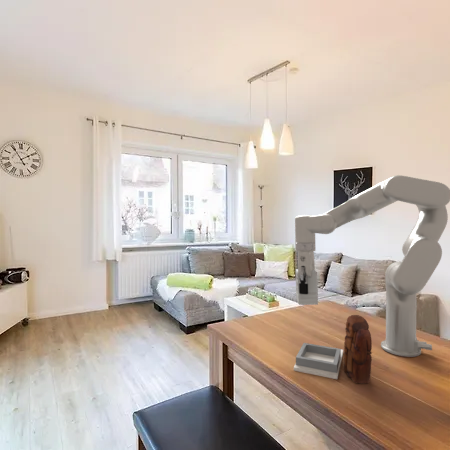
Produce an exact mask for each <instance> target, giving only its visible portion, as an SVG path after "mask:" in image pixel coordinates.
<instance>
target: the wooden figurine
mask: <svg viewBox="0 0 450 450" xmlns="http://www.w3.org/2000/svg"><path fill="white" fill-rule="evenodd" d="M344 329H345V336H344V344H343V348H344V349H343V372H344V373H346V375H347V377H348V378H349V379H352V381H353V382H354V383H355V384H369V383H370V381H371V372H372V371H371V370H372V360H373V357H372V353H373V352H372V348H373V347H372V345H373V344H372V334H371V332H370V331H371V330H369V329H370V326H369V323H368V321H367V320H366V318H365V317H363V316H361V315H359V314H351V315H349V316H348V317H347V319H346V323H345V328H344Z"/></svg>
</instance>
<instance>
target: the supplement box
mask: <svg viewBox="0 0 450 450" xmlns="http://www.w3.org/2000/svg"><path fill="white" fill-rule="evenodd" d="M304 275H306V272H304ZM299 278H300V277H299V275H298V268H295V292H296V293H295V295H296V298H295V299H296V301H297V304H298V305H300V306H308V305H311V306H312V305H315V306H316V305H319V295H318V272H317V271H316V269H315V270H313V271H312V277H311V278H310V277H309V276H308V280H307V283H308V294H300V293H299ZM305 279H306V278H305Z"/></svg>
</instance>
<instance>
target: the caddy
mask: <svg viewBox="0 0 450 450" xmlns="http://www.w3.org/2000/svg"><path fill="white" fill-rule="evenodd" d="M343 357H344V349H341V348H337V347H332V346H331V347H330V346H325V345H320V344H314V343H309V342H308V343H307V342H303V343H302V345H301V347H300V349H299V351H298V353H297V354H296V356H295V363H294V366H293V371H294V372H300V373H305V374H309V375H314V376H319V377H324V378H329V379H334V380H338V378H339V373H340V370H341V364H342V360H343Z"/></svg>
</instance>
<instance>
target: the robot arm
mask: <svg viewBox="0 0 450 450" xmlns="http://www.w3.org/2000/svg"><path fill="white" fill-rule="evenodd" d="M396 202H403V203H407V204H411V205H415V206H416V208H417V209H418V218H417V221H416V222H415V225H414V226H413V227H412V229H411V232H410V234H409V235H408V236H407V238H406V240H405V241H404V242H403V245H402V249H401V250H402V254H403V256H404V257H403V259H402V260H401V261H395V262H392V263H391V264H389V265H388V266H387V267H386V270H385V272H384V273H385V275H384V281H385V282H384V283H385V339H384V340H381V342H380V347H381V348H382V350H384V351H386V352H387V353H389V354H392V355H396V356H400V357H408V358H410V357H411V358H412V357H413V358H414V357H418V356H420V355H421V354H422V350H423V349H424V350H426V351H433V345H432V344H430V343H427V341H420V340H419V339H418V338H417V306H418V305H417V303H418V302H417V294H418V293H420V292H421V291H422V290H423V289H424V287H425V286H426V285H427V283H428V282H429V280H430V279H431V277H432V275H433V274H434V272H435V270H436V269H437V267H438V265H439V264H440V262H441V260H442V255H443V249H442V247H441V244H440V243H439V240H440V239H441V237H442V235H443V233H444V231H445V229H446V227H447V224H448V218H449V216H448V215H449V214H448V210H447V205H448V204H449V203H450V188H449V186H447V185H446V184H444V183H442V182H439V181H434V180H428V179H422V178H416V177H411V176H407V175H399V174H398V175H393V176H391V177H389V178H387V179H384V180H383V181H381V182H378V183H377V184H375V185H373V186H372V187H370V188H368V189H366V190H363V191H362V192H360V193H358V194H356V195H354V196H353V197H351V198H349V199H348V200H347V201H345V202H343V203H342V204H340V205H338V206H335V207H334V208H332V209H330V210H328V211H326V212H324V213H323V214H318V215H312V214H300V215H296V216H295V217H294V226H295V227H294V234H295V238H294V239H295V252H297V269H298V275H299V277H300V278H299V293H300V294H308V283H307V280H308V276H309V277H310V278H311V277H312V271H313V270H315V271H316V267H315V266H316V265H315V254H314V252H316V251H317V250H316V234H319V235H320V234H321V235H329V234H332V233H333V232H334V231H335V230H336V229H338V228H340V227H342V226H344V225H346V224H348V223H351V222H352V221H355V220H356V221H357V220H359V219H362V218H365V217H368V216H370V215H372V214H374V213H376V212H377V211H380V210H382V209H384V208H385V207H388V206H389V205H391V204H394V203H396ZM304 272H306V275H304ZM305 278H306V279H305Z"/></svg>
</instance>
